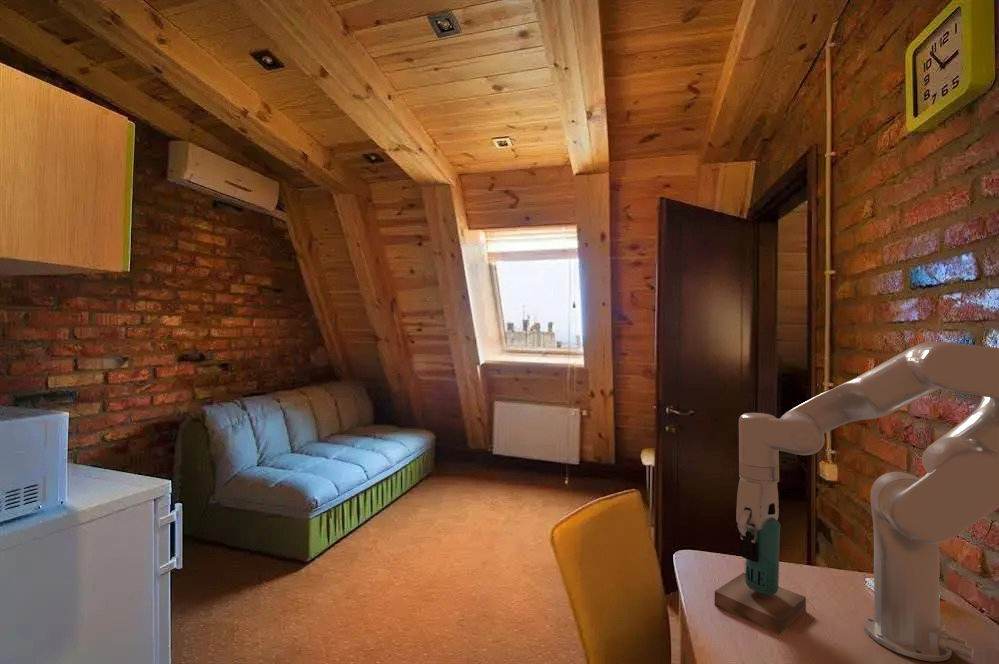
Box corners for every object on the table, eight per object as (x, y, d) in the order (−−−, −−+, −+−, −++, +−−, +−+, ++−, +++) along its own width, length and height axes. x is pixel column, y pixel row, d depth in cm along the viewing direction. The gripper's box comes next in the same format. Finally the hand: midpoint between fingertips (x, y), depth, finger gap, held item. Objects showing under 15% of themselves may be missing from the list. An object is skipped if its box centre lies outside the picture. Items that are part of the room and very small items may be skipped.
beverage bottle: (779, 591, 102) (783, 499, 102) (777, 606, 97) (781, 509, 96) (745, 581, 106) (748, 493, 105) (742, 595, 100) (745, 502, 100)
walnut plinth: (805, 611, 100) (805, 597, 100) (779, 635, 92) (778, 619, 92) (743, 585, 110) (743, 572, 110) (714, 604, 103) (714, 591, 103)
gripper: (759, 461, 110) (759, 537, 110) (720, 475, 99) (721, 559, 99) (794, 468, 104) (795, 548, 104) (758, 483, 93) (758, 573, 93)
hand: (759, 553), depth 101 cm, fingers open, 7 cm apart
